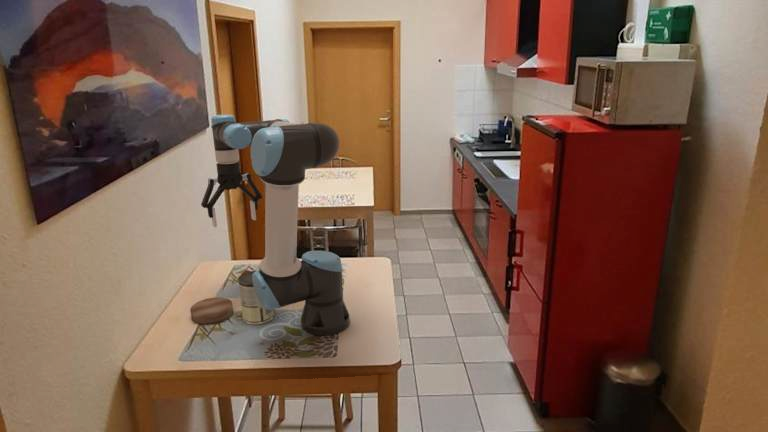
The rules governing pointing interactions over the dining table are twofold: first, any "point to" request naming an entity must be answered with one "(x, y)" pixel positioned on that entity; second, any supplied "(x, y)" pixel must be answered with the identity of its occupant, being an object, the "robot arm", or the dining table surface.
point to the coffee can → (252, 302)
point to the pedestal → (211, 310)
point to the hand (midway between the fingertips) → (234, 222)
